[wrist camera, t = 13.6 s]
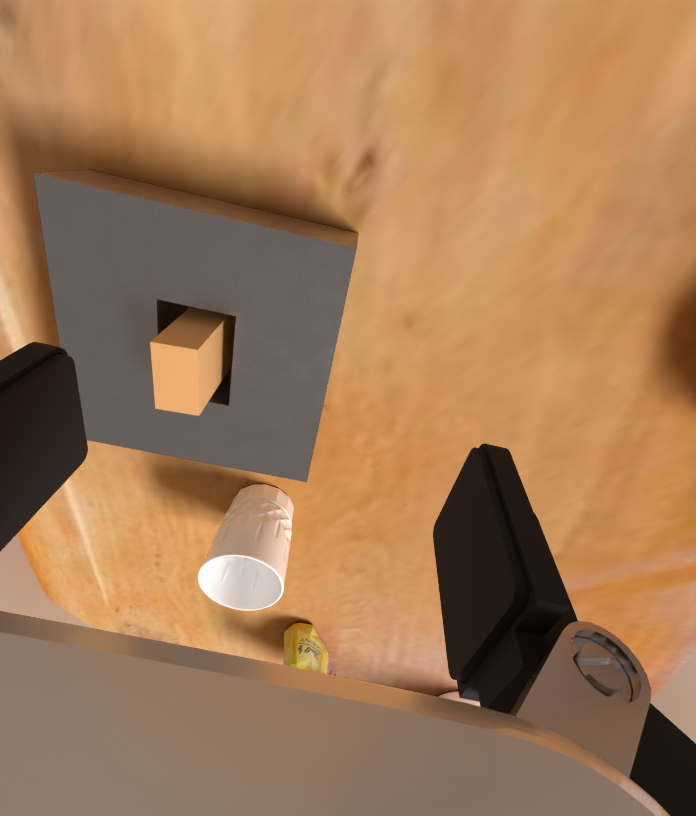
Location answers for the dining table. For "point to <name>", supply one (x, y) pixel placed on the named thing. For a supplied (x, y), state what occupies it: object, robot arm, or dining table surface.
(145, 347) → the collar
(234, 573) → the white cup
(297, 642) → the chocolate bunny
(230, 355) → the tall tan wooden block
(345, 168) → the dining table surface
